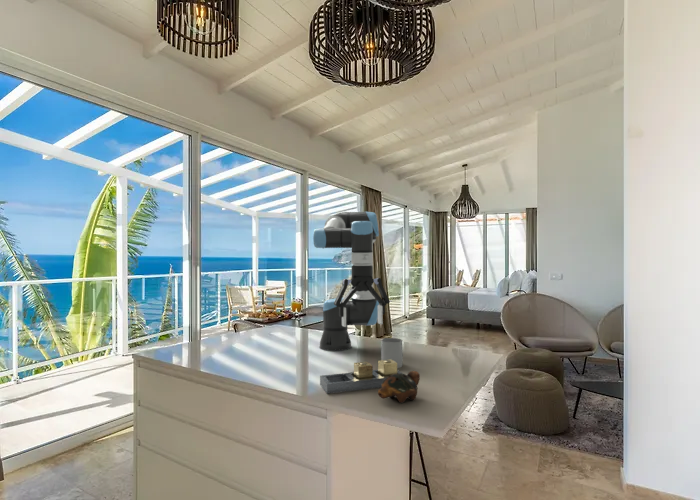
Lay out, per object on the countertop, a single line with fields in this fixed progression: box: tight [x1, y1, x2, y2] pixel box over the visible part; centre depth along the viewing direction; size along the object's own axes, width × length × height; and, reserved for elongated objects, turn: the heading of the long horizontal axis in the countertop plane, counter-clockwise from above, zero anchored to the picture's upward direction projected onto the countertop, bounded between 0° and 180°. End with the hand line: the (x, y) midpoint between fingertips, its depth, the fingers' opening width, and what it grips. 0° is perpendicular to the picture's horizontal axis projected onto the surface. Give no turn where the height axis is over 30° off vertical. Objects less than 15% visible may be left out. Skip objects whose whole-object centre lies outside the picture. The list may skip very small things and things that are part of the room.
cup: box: [380, 337, 403, 369], centre depth 158 cm, size 8×8×10 cm
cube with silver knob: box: [353, 361, 374, 380], centre depth 135 cm, size 5×5×7 cm
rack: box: [319, 369, 404, 395], centre depth 135 cm, size 9×28×3 cm, turn 108°
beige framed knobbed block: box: [377, 359, 398, 377], centre depth 138 cm, size 5×5×7 cm
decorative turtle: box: [377, 370, 421, 404], centre depth 121 cm, size 10×15×8 cm, turn 126°
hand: (362, 324), depth 140 cm, fingers open, 13 cm apart
